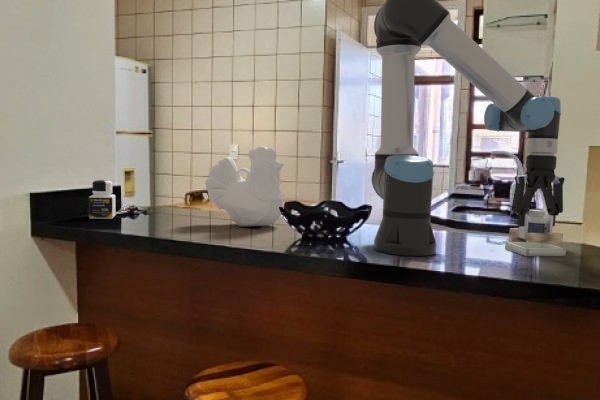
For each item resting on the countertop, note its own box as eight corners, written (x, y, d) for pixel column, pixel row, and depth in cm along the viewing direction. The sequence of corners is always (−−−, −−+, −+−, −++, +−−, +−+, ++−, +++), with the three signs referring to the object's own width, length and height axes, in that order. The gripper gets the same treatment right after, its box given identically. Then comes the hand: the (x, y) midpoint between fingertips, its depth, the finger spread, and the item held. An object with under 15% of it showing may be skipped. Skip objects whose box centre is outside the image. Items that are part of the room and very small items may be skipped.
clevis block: (528, 248, 140) (529, 233, 140) (508, 242, 149) (509, 228, 149) (561, 248, 142) (563, 233, 142) (540, 242, 151) (541, 228, 150)
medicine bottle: (88, 218, 167) (88, 181, 166) (92, 215, 174) (92, 179, 173) (112, 218, 168) (112, 181, 167) (115, 216, 175) (115, 180, 174)
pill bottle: (547, 247, 142) (550, 212, 141) (526, 246, 143) (529, 210, 142) (542, 244, 148) (545, 209, 147) (522, 243, 149) (524, 208, 148)
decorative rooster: (291, 226, 166) (294, 147, 164) (266, 232, 152) (269, 145, 150) (226, 218, 178) (228, 145, 175) (197, 224, 163) (198, 143, 161)
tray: (525, 256, 129) (526, 248, 129) (504, 249, 138) (505, 242, 137) (565, 255, 131) (566, 248, 131) (542, 248, 140) (543, 242, 140)
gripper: (517, 153, 138) (510, 240, 140) (583, 156, 141) (576, 240, 143) (500, 153, 145) (495, 235, 147) (564, 155, 149) (557, 235, 151)
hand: (535, 237), depth 145 cm, fingers open, 7 cm apart
